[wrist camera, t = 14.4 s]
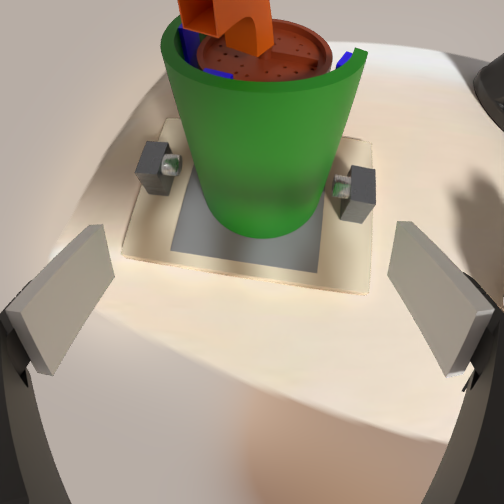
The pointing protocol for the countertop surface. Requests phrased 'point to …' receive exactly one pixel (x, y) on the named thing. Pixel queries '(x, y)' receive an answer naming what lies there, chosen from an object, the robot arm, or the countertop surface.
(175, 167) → the knobbed dark grey block
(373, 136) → the countertop surface
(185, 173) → the mount plate
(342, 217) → the grey block with stub
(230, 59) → the green plastic cylinder
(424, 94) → the countertop surface
